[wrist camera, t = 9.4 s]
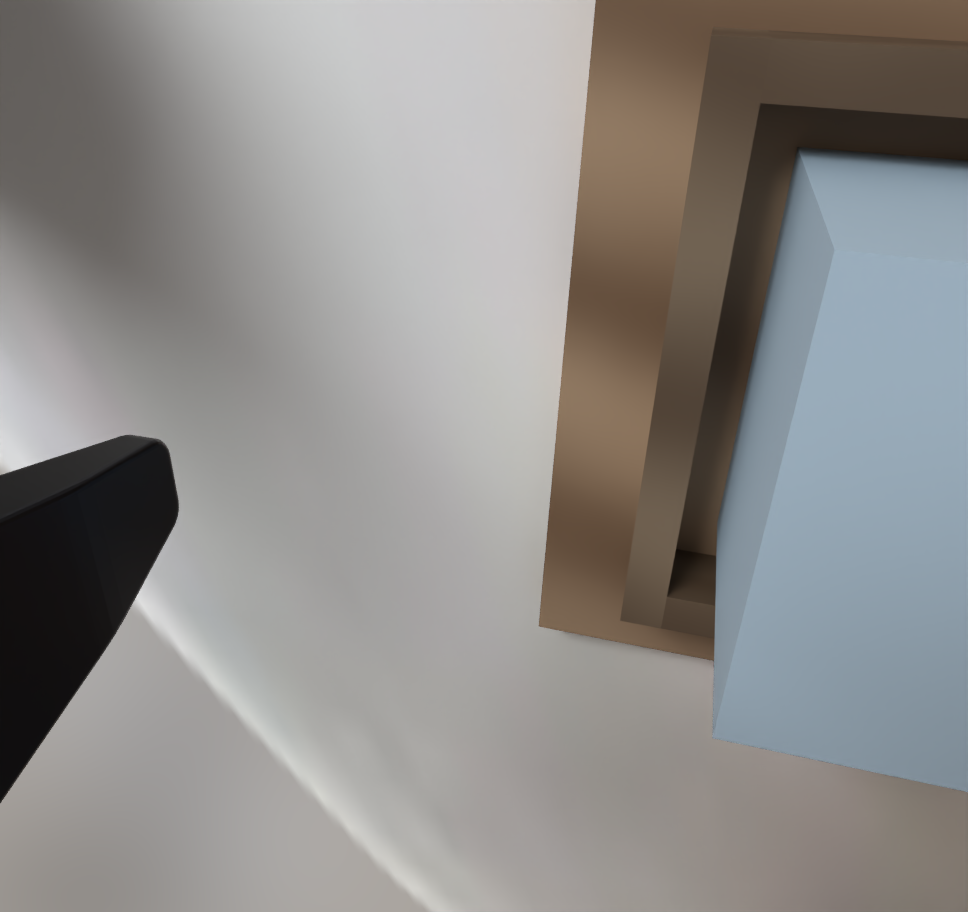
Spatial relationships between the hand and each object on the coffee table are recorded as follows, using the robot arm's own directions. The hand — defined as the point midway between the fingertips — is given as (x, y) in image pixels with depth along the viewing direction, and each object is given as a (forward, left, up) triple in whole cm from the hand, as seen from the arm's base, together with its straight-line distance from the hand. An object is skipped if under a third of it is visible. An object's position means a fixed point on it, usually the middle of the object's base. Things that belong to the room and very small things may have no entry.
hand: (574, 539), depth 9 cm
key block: (+3, +5, -11) cm, 13 cm away
